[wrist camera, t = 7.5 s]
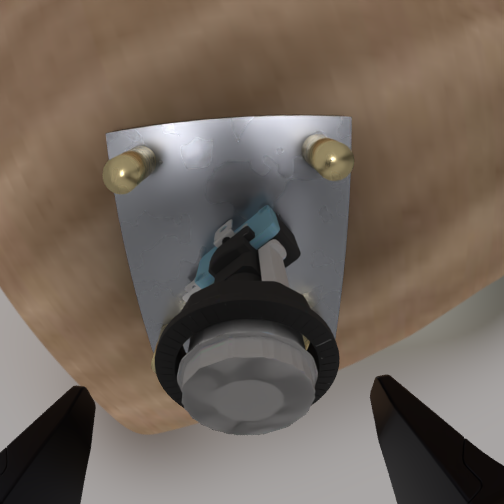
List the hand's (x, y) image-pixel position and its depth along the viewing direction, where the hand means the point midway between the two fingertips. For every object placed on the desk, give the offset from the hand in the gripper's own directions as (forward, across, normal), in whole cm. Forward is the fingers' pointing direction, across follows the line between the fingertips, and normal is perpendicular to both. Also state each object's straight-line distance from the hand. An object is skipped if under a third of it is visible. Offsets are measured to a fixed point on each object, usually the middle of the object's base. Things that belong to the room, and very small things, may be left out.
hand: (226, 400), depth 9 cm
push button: (+10, 0, 0) cm, 10 cm away
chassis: (+10, 0, 0) cm, 10 cm away
